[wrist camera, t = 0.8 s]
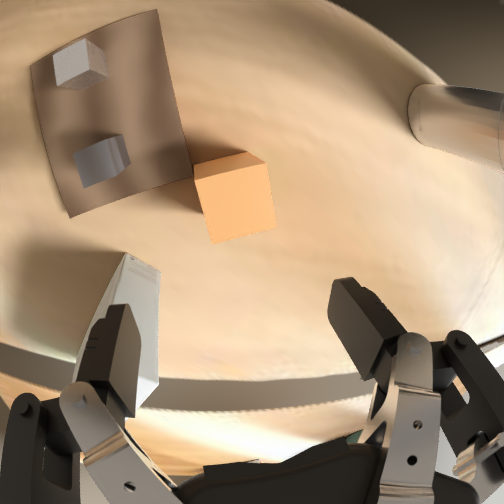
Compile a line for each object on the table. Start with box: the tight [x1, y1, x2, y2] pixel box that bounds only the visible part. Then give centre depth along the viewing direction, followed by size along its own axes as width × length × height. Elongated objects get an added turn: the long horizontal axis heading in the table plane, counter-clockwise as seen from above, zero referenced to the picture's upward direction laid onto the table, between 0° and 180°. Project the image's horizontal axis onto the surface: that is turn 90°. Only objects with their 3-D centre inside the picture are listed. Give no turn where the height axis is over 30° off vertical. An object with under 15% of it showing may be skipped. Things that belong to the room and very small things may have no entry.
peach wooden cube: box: [194, 152, 277, 244], centre depth 24 cm, size 6×6×7 cm
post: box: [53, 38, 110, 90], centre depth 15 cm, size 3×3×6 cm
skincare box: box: [72, 253, 161, 421], centre depth 25 cm, size 21×6×16 cm, turn 141°
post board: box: [31, 9, 194, 218], centre depth 18 cm, size 14×18×7 cm
